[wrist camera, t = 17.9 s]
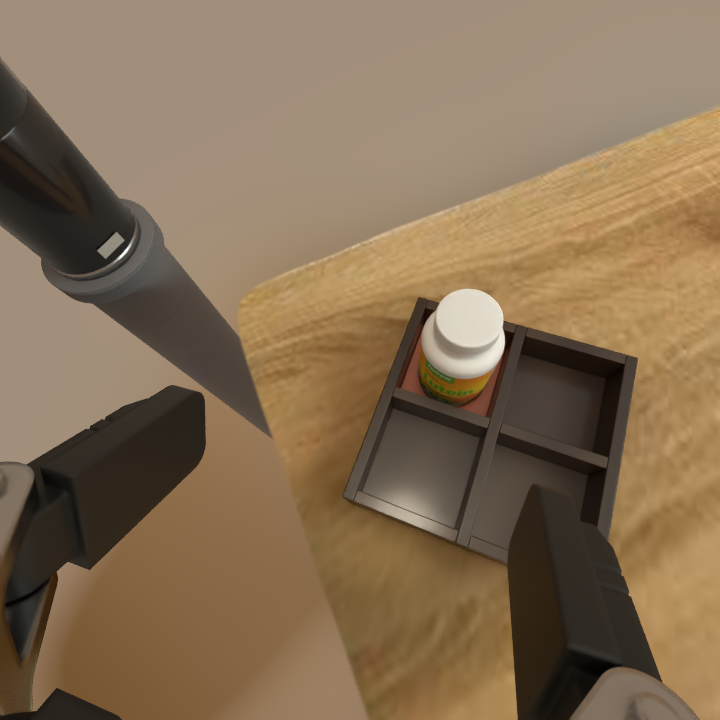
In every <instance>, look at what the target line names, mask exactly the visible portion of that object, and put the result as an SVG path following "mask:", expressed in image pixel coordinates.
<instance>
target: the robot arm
mask: <svg viewBox="0 0 720 720" xmlns="http://www.w3.org/2000/svg"><path fill="white" fill-rule="evenodd" d="M0 226H1V227H2V228H4V229H5V230H7V231H8V232H9V233H10V234H11V235H13V236H14V237H16V238H17V239H18V240H19V241H21V242H22V243H23V244H24V245H26V246H27V247H28V248H29V249H31V250H32V251H33V252H34V253H36V254H37V255H38V256H40V257H41V258H42V259H43V260H45V261H46V262H47V263H49V264H50V266H51V267H52V268H53V269H55V270H56V271H57V272H59V273H60V274H61V275H63V276H64V277H66V278H68V279H71V280H75V281H90V280H95V279H99V278H102V277H104V276H107V275H109V274H111V273H113V272H114V271H116V270H117V269H119V268H120V267H121V266H123V265H124V264H125V263H126V262H127V261H128V260H129V259H130V258H131V256H132V255H133V254H134V252H135V251H136V249H137V247H138V244H139V242H140V238H141V226H140V223H139V221H138V219H137V218H136V216H135V215H134V214H133V213H132V212H131V210H130V209H129V208H128V207H126V206H125V205H124V204H123V202H122V201H121V200H120V199H119V198H118V197H117V195H116V194H115V193H114V192H113V190H112V189H111V188H110V187H109V185H108V184H107V183H106V182H105V181H104V179H103V178H102V177H101V176H100V175H99V173H98V172H97V171H96V170H95V169H94V167H93V166H92V165H91V164H90V163H89V162H88V160H87V159H86V158H85V157H84V156H83V154H82V153H81V152H80V151H79V150H78V148H77V147H76V146H75V145H74V144H73V142H72V141H71V140H70V139H69V138H68V136H67V135H66V134H65V133H64V132H63V130H61V128H60V127H59V126H58V124H57V123H55V121H54V120H53V119H52V118H51V116H50V115H49V114H48V113H47V111H46V110H45V109H44V108H43V107H42V105H41V104H40V103H39V102H38V101H37V99H36V98H35V97H34V96H33V95H32V93H31V92H30V91H29V90H28V89H27V87H26V86H25V85H24V84H23V83H22V82H21V81H20V79H19V78H18V77H17V76H16V75H15V73H14V72H13V71H12V70H11V69H10V67H9V66H8V65H7V64H6V63H5V61H4V60H3V59H2V58H1V57H0ZM205 445H206V437H205V400H204V396H203V395H202V393H200V392H197V391H193V390H190V389H186V388H182V387H178V386H175V385H171V386H168V387H166V388H165V389H163V390H161V391H160V392H158V393H157V394H155V395H153V396H152V397H150V398H148V399H144V400H141V401H138V402H135V403H132V404H129V405H125V406H123V407H121V408H120V409H118V410H116V411H115V412H113V413H112V414H110V415H108V416H106V418H105V420H103V419H102V420H100V421H98V422H97V423H95V424H93V425H91V426H90V429H85V430H83V431H82V432H80V433H78V434H77V435H75V436H74V437H72V438H70V439H68V440H67V441H65V442H64V443H62V444H60V445H58V446H57V447H55V448H53V449H52V450H50V451H48V452H47V453H45V454H43V455H42V456H40V457H38V458H37V459H35V460H33V461H32V462H30V463H28V464H27V465H25V464H22V463H18V462H0V720H121V719H120V717H118V716H117V715H115V714H113V713H111V712H109V711H106V710H104V709H102V708H100V707H98V706H95V705H93V704H91V703H89V702H87V701H84V700H82V699H80V698H78V697H76V696H73V695H71V694H69V693H66V692H65V691H62V690H60V689H58V688H56V689H55V690H54V692H53V693H52V694H51V695H50V696H49V697H48V699H47V700H46V701H45V702H44V703H43V704H42V706H41V707H40V708H39V709H38V710H37V711H33V712H32V684H33V676H34V671H35V667H36V663H37V659H38V656H39V652H40V648H41V644H42V640H43V637H44V633H45V629H46V625H47V621H48V617H49V614H50V610H51V606H52V602H53V598H54V595H55V591H56V587H57V582H58V576H57V571H58V570H59V569H60V568H61V567H62V566H63V565H64V564H65V563H67V562H70V563H73V564H76V565H78V566H81V567H83V568H86V569H89V570H90V569H91V568H92V567H93V566H94V565H95V564H96V563H97V562H98V561H99V560H100V559H101V558H102V557H103V556H105V555H106V554H107V553H108V552H109V551H110V550H111V549H112V548H113V547H114V546H115V545H116V544H117V543H118V542H119V541H120V540H121V539H122V538H123V537H124V536H125V535H126V534H127V533H128V532H129V531H131V530H132V528H134V527H135V526H136V525H137V524H138V523H139V522H140V521H141V520H142V519H143V518H144V517H145V516H146V515H147V514H148V513H149V512H150V511H151V510H152V509H153V508H154V507H155V506H156V505H157V504H158V503H159V502H161V501H162V500H163V499H164V498H165V497H166V496H167V495H168V494H169V493H170V492H171V491H172V490H173V489H174V488H175V487H176V486H177V485H178V484H179V483H180V482H181V481H182V480H183V479H184V478H185V477H186V476H187V475H188V474H190V473H191V472H192V470H194V468H196V467H197V465H198V464H199V462H200V461H201V459H202V456H203V454H204V450H205ZM507 566H508V581H509V596H510V610H511V625H512V640H513V654H514V669H515V684H516V699H517V713H518V720H700V719H699V718H698V717H697V715H696V714H695V713H694V712H693V710H692V709H691V708H690V707H689V706H688V705H687V704H686V703H685V702H684V701H683V700H682V699H681V698H680V697H679V696H678V695H677V694H676V693H675V692H674V691H672V690H671V689H670V688H668V687H667V686H666V685H665V684H663V682H662V680H661V677H660V675H659V672H658V669H657V666H656V664H655V661H654V658H653V656H652V653H651V650H650V647H649V645H648V642H647V639H646V636H645V634H644V631H643V628H642V626H641V623H640V620H639V617H638V615H637V612H636V609H635V606H634V604H633V601H632V598H631V597H630V596H629V595H628V593H629V590H628V587H627V585H626V582H625V579H624V577H623V576H621V572H622V571H621V568H620V566H619V563H618V560H617V557H616V555H615V552H614V549H613V547H612V546H611V545H610V543H609V542H608V541H607V540H606V538H605V537H604V536H603V535H602V533H601V532H600V531H599V530H598V528H597V527H596V526H595V525H593V524H589V523H585V522H582V521H580V518H579V514H578V511H577V508H576V504H575V501H574V498H573V496H572V494H571V493H568V492H564V491H561V490H557V489H553V488H550V487H546V486H542V485H538V484H535V483H534V484H532V486H531V487H530V489H529V491H528V494H527V496H526V499H525V502H524V504H523V507H522V509H521V512H520V515H519V517H518V520H517V523H516V525H515V528H514V531H513V533H512V536H511V540H510V544H509V550H508V560H507Z"/></svg>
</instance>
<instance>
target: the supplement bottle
mask: <svg viewBox="0 0 720 720" xmlns="http://www.w3.org/2000/svg"><path fill="white" fill-rule="evenodd" d="M502 326H503V314H502V310H501V308H500V306H499V304H498V303H497V302H496V301H495V300H494V299H493V298H492V297H491V296H490V295H488V294H486V293H484V292H482V291H479V290H475V289H461V290H457V291H454V292H452V293H450V294H448V295H447V296H446V297H444V298H443V299H442V300H441V302H440V303H439V305H438V307H437V309H436V311H435V312H433V313H432V314H431V315H430V317H429V318H428V319H427V321H426V323H425V325H424V328H423V332H422V337H421V347H420V357H419V365H418V376H419V381H420V384H421V386H422V388H423V390H424V391H425V393H426V394H427V395H428V396H429V397H430V398H432V399H434V400H437V401H440V402H443V403H446V404H449V405H452V406H459V405H464V404H467V403H469V402H471V401H473V400H474V399H475V398H477V397H478V396H479V395H480V393H481V392H482V390H483V389H484V387H485V385H486V383H487V382H488V380H489V378H490V376H491V374H492V373H493V371H494V369H495V367H496V365H497V364H498V362H499V360H500V358H501V356H502V354H503V351H504V346H505V335H504V331H503V328H502Z"/></svg>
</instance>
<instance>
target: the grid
mask: <svg viewBox="0 0 720 720" xmlns="http://www.w3.org/2000/svg"><path fill="white" fill-rule="evenodd" d="M438 305H439V303H438V302H434V301H431V300H427V299H424V298H420V297H419V298H418V300H417V303H416V305H415V308H414V310H413V313H412V316H411V318H410V321H409V324H408V326H407V329H406V331H405V334H404V337H403V339H402V342H401V344H400V347H399V350H398V352H397V355H396V357H395V360H394V363H393V365H392V368H391V370H390V373H389V376H388V378H387V381H386V383H385V386H384V389H383V391H382V394H381V396H380V399H379V402H378V404H377V407H376V409H375V412H374V415H373V417H372V420H371V422H370V425H369V428H368V430H367V433H366V435H365V438H364V441H363V443H362V446H361V449H360V451H359V454H358V456H357V459H356V462H355V464H354V467H353V469H352V472H351V475H350V477H349V480H348V482H347V485H346V488H345V490H344V493H343V495H342V497H343V498H345V499H346V500H348V501H349V502H352V503H354V504H356V505H359V506H361V507H364V508H366V509H369V510H371V511H374V512H376V513H379V514H381V515H383V516H386V517H388V518H391V519H393V520H396V521H398V522H401V523H403V524H406V525H408V526H410V527H413V528H415V529H418V530H420V531H423V532H425V533H428V534H430V535H433V536H435V537H437V538H440V539H442V540H445V541H447V542H450V543H452V544H455V545H457V546H459V547H462V548H464V549H467V550H469V551H472V552H474V553H477V554H479V555H482V556H484V557H486V558H489V559H491V560H494V561H496V562H499V563H501V564H504V565H506V566H507V560H508V550H509V544H510V540H511V536H512V533H513V531H514V528H515V525H516V523H517V520H518V517H519V515H520V512H521V509H522V507H523V504H524V502H525V499H526V496H527V494H528V491H529V489H530V487H531V486H532V484H534V483H535V484H538V485H542V486H546V487H550V488H553V489H557V490H561V491H564V492H568V493H571V494H572V496H573V498H574V501H575V504H576V508H577V511H578V514H579V518H580V521H582V522H585V523H589V524H593V525H595V526H596V527H597V528H598V530H599V531H600V532H601V533H602V535H603V536H604V537H605V538H606V540H607V541H608V540H609V533H610V527H611V521H612V515H613V509H614V503H615V496H616V490H617V484H618V478H619V472H620V466H621V459H622V453H623V447H624V441H625V435H626V429H627V422H628V416H629V410H630V404H631V398H632V392H633V385H634V379H635V373H636V367H637V361H638V358H636V357H632V356H629V355H625V354H622V353H618V352H614V351H611V350H607V349H604V348H600V347H596V346H593V345H589V344H586V343H582V342H579V341H575V340H571V339H568V338H564V337H561V336H557V335H553V334H550V333H546V332H543V331H539V330H535V329H532V328H527V327H524V326H521V325H516V324H513V323H510V322H506V321H503V326H502V328H503V331H504V335H505V346H504V351H503V354H502V356H501V358H500V360H499V362H498V364H497V365H496V367H495V369H494V371H493V373H492V374H491V376H490V378H489V380H488V382H487V383H486V385H485V387H484V389H483V390H482V392H481V393H480V395H479V396H478V397H477V398H475V399H474V400H473V401H471V402H469V403H467V404H464V405H459V406H452V405H449V404H446V403H443V402H440V401H437V400H434V399H432V398H430V397H429V396H428V395H427V394H426V393H425V391H424V390H423V388H422V386H421V384H420V381H419V376H418V365H419V357H420V347H421V337H422V332H423V328H424V325H425V323H426V321H427V319H428V318H429V317H430V315H431V314H432V313H433V312H435V311H436V309H437V307H438Z"/></svg>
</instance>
